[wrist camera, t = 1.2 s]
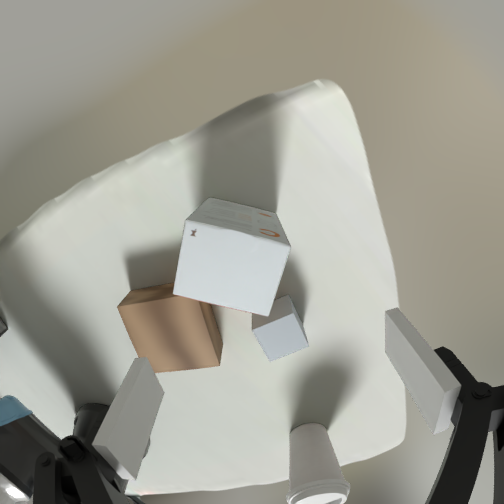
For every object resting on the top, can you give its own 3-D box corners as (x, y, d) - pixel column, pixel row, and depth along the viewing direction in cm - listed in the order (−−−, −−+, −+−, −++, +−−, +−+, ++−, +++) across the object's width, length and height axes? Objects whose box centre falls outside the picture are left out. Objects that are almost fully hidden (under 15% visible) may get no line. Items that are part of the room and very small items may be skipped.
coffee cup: (284, 452, 47) (291, 519, 33) (276, 423, 45) (282, 498, 30) (335, 442, 47) (351, 507, 32) (333, 411, 44) (353, 484, 30)
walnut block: (156, 352, 41) (146, 373, 36) (131, 289, 38) (117, 306, 33) (223, 343, 40) (219, 365, 35) (202, 276, 37) (196, 293, 32)
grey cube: (268, 339, 40) (269, 361, 35) (251, 309, 38) (251, 330, 34) (302, 325, 39) (309, 346, 34) (288, 293, 38) (293, 313, 33)
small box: (197, 248, 36) (169, 295, 23) (208, 195, 34) (183, 217, 22) (263, 264, 36) (269, 318, 24) (278, 213, 35) (292, 243, 22)
